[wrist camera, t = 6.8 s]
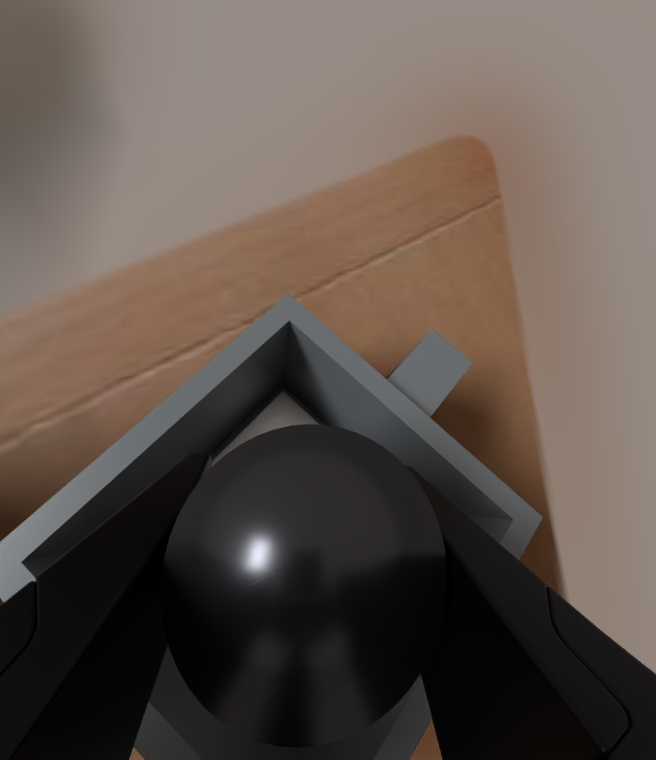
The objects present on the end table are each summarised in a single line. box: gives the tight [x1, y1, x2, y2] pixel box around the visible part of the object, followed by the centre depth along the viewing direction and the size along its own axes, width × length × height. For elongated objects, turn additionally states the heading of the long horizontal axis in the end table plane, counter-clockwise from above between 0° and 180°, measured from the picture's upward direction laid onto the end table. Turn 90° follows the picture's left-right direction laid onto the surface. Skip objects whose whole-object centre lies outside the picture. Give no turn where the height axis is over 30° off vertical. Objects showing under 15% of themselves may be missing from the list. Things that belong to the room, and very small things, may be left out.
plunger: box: [161, 391, 447, 748], centre depth 9 cm, size 7×7×9 cm
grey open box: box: [0, 293, 543, 760], centre depth 11 cm, size 12×9×6 cm
